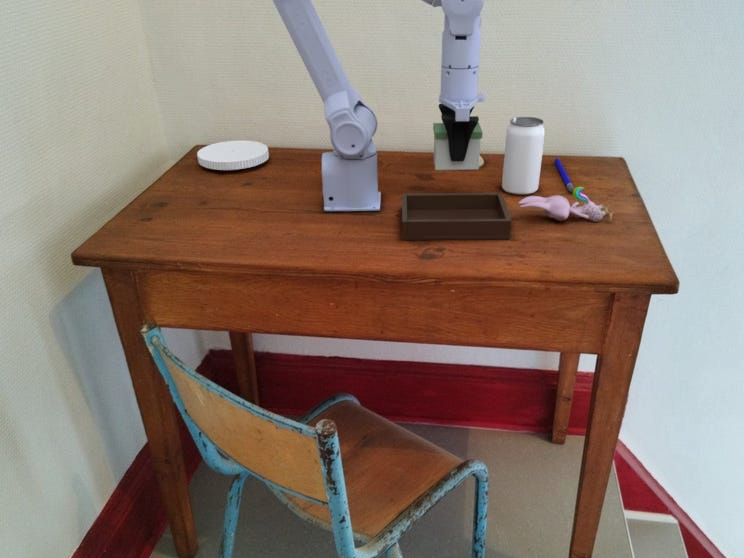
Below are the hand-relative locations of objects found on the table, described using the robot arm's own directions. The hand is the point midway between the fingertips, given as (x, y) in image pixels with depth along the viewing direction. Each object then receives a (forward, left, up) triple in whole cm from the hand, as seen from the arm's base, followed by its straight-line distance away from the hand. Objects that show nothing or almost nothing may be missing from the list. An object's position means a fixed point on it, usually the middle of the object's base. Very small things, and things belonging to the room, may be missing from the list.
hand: (456, 155), depth 107 cm
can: (+12, +8, -9) cm, 17 cm away
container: (0, 0, -2) cm, 2 cm away
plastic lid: (-43, +24, -9) cm, 50 cm away
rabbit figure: (+17, -6, -9) cm, 21 cm away
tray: (-1, -7, -9) cm, 12 cm away
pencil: (+21, +14, -9) cm, 27 cm away
